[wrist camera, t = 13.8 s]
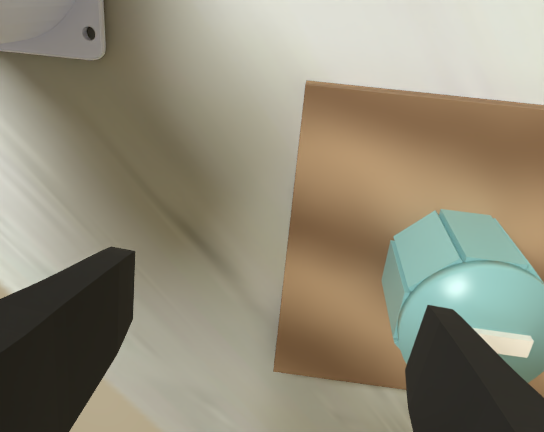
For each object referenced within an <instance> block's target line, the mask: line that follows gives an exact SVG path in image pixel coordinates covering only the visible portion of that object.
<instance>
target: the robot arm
mask: <svg viewBox="0 0 544 432" xmlns="http://www.w3.org/2000/svg"><path fill="white" fill-rule="evenodd" d="M88 27H92V28H93V29H94V31H95V34H96V35H95V38H94V39H93V40H92V39H90V38H89V37H88V35H87V28H88ZM0 51H6V52H15V53H25V54H35V55H44V56H54V57H63V58H73V59H82V60H97V59H100V58H101V57H103V55H104V54H105V51H106V41H105V22H104V4H103V0H0ZM134 270H135V251H131V250H126V249H121V248H115V247H109V248H107V249H105V250H102V251H100V252H98V253H96V254H94V255H92V256H90V257H88V258H86V259H84V260H82V261H80V262H78V263H76V264H75V265H73V266H71V267H69V268H67V269H65V270H63V271H60V272H58V273H56V274H54V275H52V276H50V277H48V278H46V279H44V280H42V281H40V282H38V283H35V284H33V285H31V286H29V287H26V288H24V289H22V290H20V291H17V292H15V293H13V294H11V295H8V296H6V297H4V298H2V299H0V432H69V431H70V429H71V428H72V426H73V424H74V423H75V421H76V420H77V418H78V416H79V415H80V413H81V412H82V410H83V409H84V407H85V405H86V403H87V402H88V401H89V399H90V397H91V396H92V394H93V393H94V391H95V389H96V388H97V386H98V385H99V383H100V381H101V380H102V378H103V376H104V375H105V373H106V372H107V370H108V368H109V367H110V365H111V363H112V362H113V360H114V358H115V357H116V355H117V353H118V351H119V349H120V347H121V345H122V342H123V340H124V338H125V336H126V334H127V331H128V329H129V327H130V324H131V322H132V320H133V299H134ZM405 377H406V391H407V401H408V409H409V414H410V419H411V423H412V428H413V432H544V397H543V396H542V395H540V394H539V393H538V392H537V391H536V390H535V389H534V388H533V387H532V386H530V385H529V384H528V383H527V382H526V381H525V380H524V379H523V378H522V377H521V376H520V375H519V374H518V373H517V372H516V371H514V370H513V369H512V368H511V367H510V366H509V365H508V364H507V363H506V362H505V361H504V360H503V359H502V358H501V357H500V356H499V355H498V354H497V353H496V352H495V351H494V350H493V349H492V348H491V347H490V346H489V345H488V343H487V342H486V341H485V340H484V339H483V338H482V337H481V336H480V335H479V334H478V333H477V332H476V331H475V330H474V329H473V328H472V327H471V326H470V325H469V324H468V323H467V322H466V321H465V320H464V319H463V318H462V317H461V316H460V315H459V314H458V313H457V312H455V311H454V310H453V309H449V308H443V307H438V306H432V305H427V308H426V311H425V313H424V316H423V319H422V322H421V325H420V328H419V331H418V334H417V336H416V339H415V342H414V345H413V348H412V351H411V354H410V357H409V360H408V362H407V365H406V368H405Z"/></svg>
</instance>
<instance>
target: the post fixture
mask: <svg viewBox="0 0 544 432" xmlns="http://www.w3.org/2000/svg"><path fill="white" fill-rule="evenodd" d="M441 209H445V210H453V211H461V212H469V213H477V214H484V215H491V217H492V218H493V219H494V218H496V220H497V221H498V222H499V224H500V225H501V226H502V228H503V229H504V230H505V232H506V233H507V234H508V235H509V237H510V238H511V239H512V241H513V242H514V243H515V245H516V246H517V247H518V249H519V250H520V251H521V252H522V254H523V255H524V256H525V258H526V259H527V260H528V262H529V263H530V264H531V266H532V267H533V268H534V270H535V271H536V272H537V274H538V275H539V277H540V278H541V280H542V281H543V283H544V105H536V104H527V103H517V102H508V101H498V100H488V99H479V98H469V97H459V96H450V95H440V94H431V93H421V92H411V91H402V90H392V89H383V88H373V87H363V86H354V85H344V84H335V83H325V82H315V81H306V85H305V94H304V103H303V112H302V121H301V130H300V139H299V148H298V157H297V165H296V174H295V183H294V192H293V201H292V210H291V219H290V228H289V237H288V246H287V254H286V263H285V272H284V281H283V290H282V299H281V308H280V317H279V326H278V335H277V343H276V352H275V361H274V370H273V372H281V373H288V374H295V375H303V376H310V377H317V378H324V379H332V380H339V381H346V382H354V383H361V384H368V385H376V386H383V387H390V388H397V389H405V390H406V377H405V368H406V365H407V364H406V362H405V361H404V359H403V356H402V353H401V350H400V349H399V348H398V347H397V346H396V345H395V343H394V340H393V336H392V331H391V326H390V321H389V316H388V311H387V306H386V301H385V296H384V291H383V286H382V281H381V280H382V276H383V271H384V267H385V262H386V258H387V254H388V249H389V245H390V240H393V241H395V240H394V236H395V235H396V234H398V233H399V232H401V231H403V230H404V229H406V228H407V227H409V226H411V225H412V224H414V223H415V222H417V221H419V220H420V219H422V218H423V217H425V216H427V215H428V214H430V213H431V212H433V211H435V210H436V212H437V213H438V215H439V214H440V210H441ZM528 384H529V385H530V386H532V387H533V388H534V389H535V390H536V391H537V392H538V393H539V394H540V395H542V396H543V397H544V371H543V372H542V373H541V374H540V375H538V376H537V377H536V378H535V379H533V380H532V381H530V382H528Z"/></svg>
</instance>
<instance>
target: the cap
mask: <svg viewBox="0 0 544 432" xmlns="http://www.w3.org/2000/svg"><path fill="white" fill-rule="evenodd" d="M394 240H395V241H393V240H390V245H389V249H388V254H387V258H386V262H385V267H384V271H383V276H382V280H381V281H382V286H383V291H384V296H385V301H386V306H387V311H388V316H389V321H390V326H391V331H392V336H393V340H394V343H395V345H396V346H397V347H398V348H399V349H400V350H401V353H402V356H403V359H404V361H405V362H406V364H407V362H408V360H409V357H410V354H411V351H412V348H413V345H414V342H415V339H416V336H417V334H418V331H419V328H420V325H421V322H422V319H423V316H424V313H425V311H426V308H427V305H432V306H438V307H443V308H449V309H453V310H454V311H455V312H457V313H458V314H459V315H460V316H461V317H462V318H463V319H464V320H465V321H466V322H467V323H468V324H469V325H470V326H471V327H472V328H473V329H474V330H475V331H476V332H477V333H478V334H479V335H480V336H481V337H482V338H483V339H484V340H485V341H486V342H487V343H488V345H489V346H490V347H491V348H492V349H493V350H494V351H495V352H496V353H497V354H498V355H499V356H500V357H501V358H502V359H503V360H504V361H505V362H506V363H507V364H508V365H509V366H510V367H511V368H512V369H513V370H514V371H516V372H517V373H518V374H519V375H520V376H521V377H522V378H523V379H524V380H525V381H526V382H527V383H528V382H530V381H532V380H533V379H535V378H536V377H537V376H538V375H540V374H541V373H542V372H543V371H544V283H543V281H542V280H541V278H540V277H539V275H538V274H537V272H536V271H535V270H534V268H533V267H532V266H531V264H530V263H529V262H528V260H527V259H526V258H525V256H524V255H523V254H522V252H521V251H520V250H519V249H518V247H517V246H516V245H515V243H514V242H513V241H512V239H511V238H510V237H509V235H508V234H507V233H506V232H505V230H504V229H503V228H502V226H501V225H500V224H499V222H498V221H497V220H496V218H494V219H493V218H492V217H491V215H484V214H477V213H469V212H461V211H453V210H445V209H441V210H440V214H439V215H438V213H437V212H436V210H435V211H433V212H431V213H430V214H428V215H427V216H425V217H423V218H422V219H420V220H419V221H417V222H415V223H414V224H412V225H411V226H409V227H407V228H406V229H404V230H403V231H401V232H399V233H398V234H396V235H395V236H394Z"/></svg>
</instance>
